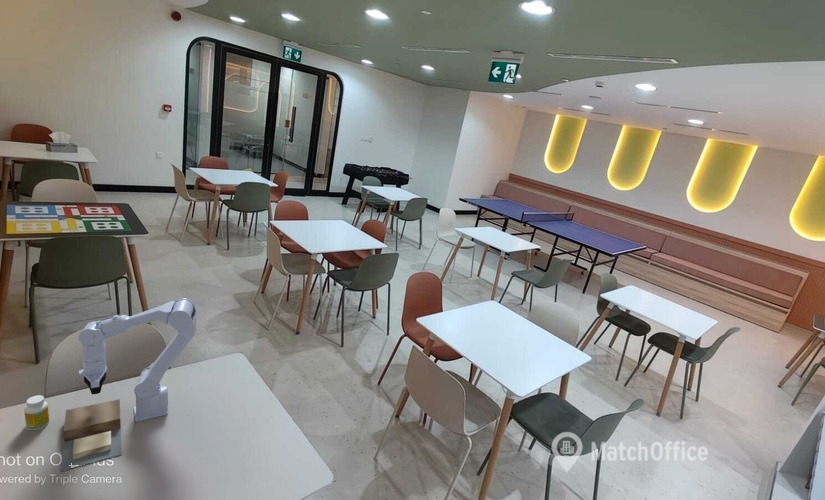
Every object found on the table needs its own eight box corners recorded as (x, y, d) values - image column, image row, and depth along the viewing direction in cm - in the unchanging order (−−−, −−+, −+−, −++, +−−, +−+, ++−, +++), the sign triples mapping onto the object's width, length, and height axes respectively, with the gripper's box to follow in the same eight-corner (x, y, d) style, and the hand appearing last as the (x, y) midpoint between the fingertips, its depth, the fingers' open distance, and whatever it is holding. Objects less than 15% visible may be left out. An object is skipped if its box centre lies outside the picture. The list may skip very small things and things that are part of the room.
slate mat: (120, 428, 130) (120, 428, 129) (121, 455, 121) (121, 454, 121) (64, 442, 121) (64, 441, 121) (60, 471, 112) (60, 470, 112)
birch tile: (111, 444, 121) (111, 449, 122) (110, 430, 125) (111, 435, 126) (72, 454, 116) (73, 459, 116) (73, 439, 120) (74, 444, 121)
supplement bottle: (35, 432, 122) (32, 407, 119) (21, 427, 123) (18, 402, 120) (54, 421, 127) (51, 396, 124) (40, 416, 128) (37, 391, 125)
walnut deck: (119, 408, 137) (119, 399, 136) (120, 428, 130) (120, 418, 129) (66, 420, 129) (66, 410, 127) (64, 441, 121) (63, 431, 120)
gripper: (78, 347, 129) (80, 382, 133) (77, 373, 118) (79, 410, 122) (106, 344, 133) (107, 377, 137) (107, 368, 122) (108, 404, 126)
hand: (96, 392), depth 130 cm, fingers closed
